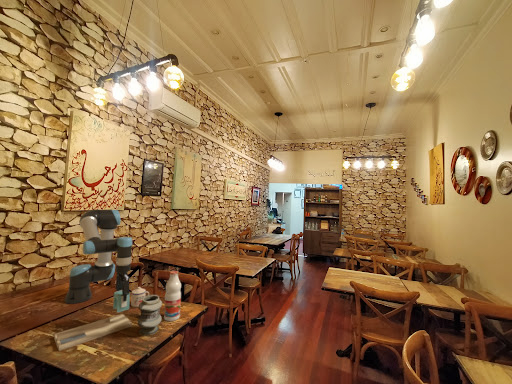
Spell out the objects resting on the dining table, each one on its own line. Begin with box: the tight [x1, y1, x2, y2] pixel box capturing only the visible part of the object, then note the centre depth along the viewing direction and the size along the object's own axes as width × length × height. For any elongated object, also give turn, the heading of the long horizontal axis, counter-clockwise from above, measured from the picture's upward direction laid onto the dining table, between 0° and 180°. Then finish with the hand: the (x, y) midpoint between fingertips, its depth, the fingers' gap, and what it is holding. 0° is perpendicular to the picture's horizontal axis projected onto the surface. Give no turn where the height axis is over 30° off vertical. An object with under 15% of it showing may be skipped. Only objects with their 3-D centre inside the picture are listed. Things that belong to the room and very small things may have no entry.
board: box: [53, 313, 133, 352], centre depth 126 cm, size 15×32×5 cm, turn 138°
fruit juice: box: [163, 270, 182, 322], centre depth 145 cm, size 9×9×28 cm
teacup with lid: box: [130, 286, 150, 308], centre depth 162 cm, size 12×9×12 cm
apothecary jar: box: [137, 294, 163, 337], centre depth 129 cm, size 12×12×18 cm
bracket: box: [112, 291, 131, 313], centre depth 135 cm, size 8×6×9 cm
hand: (121, 304), depth 135 cm, fingers closed on bracket, 7 cm apart
